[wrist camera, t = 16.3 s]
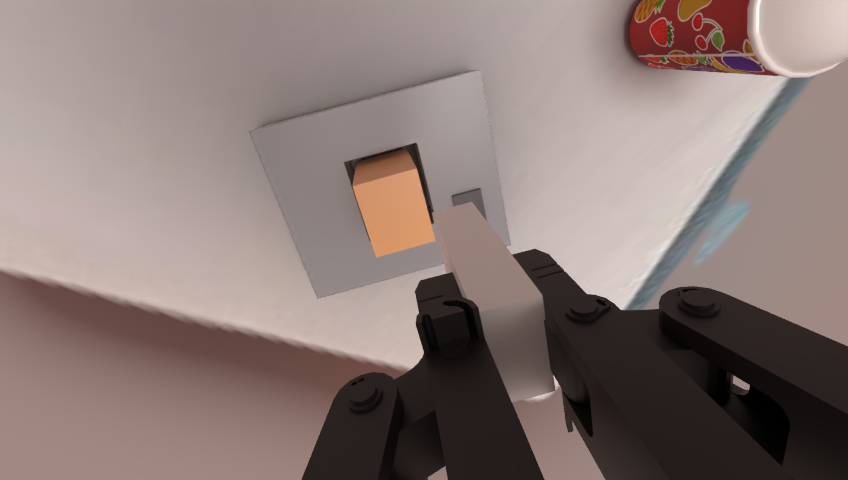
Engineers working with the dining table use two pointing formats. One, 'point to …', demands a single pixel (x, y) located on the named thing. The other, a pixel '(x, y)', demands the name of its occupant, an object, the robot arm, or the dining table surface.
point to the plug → (392, 202)
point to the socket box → (369, 134)
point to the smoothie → (742, 35)
